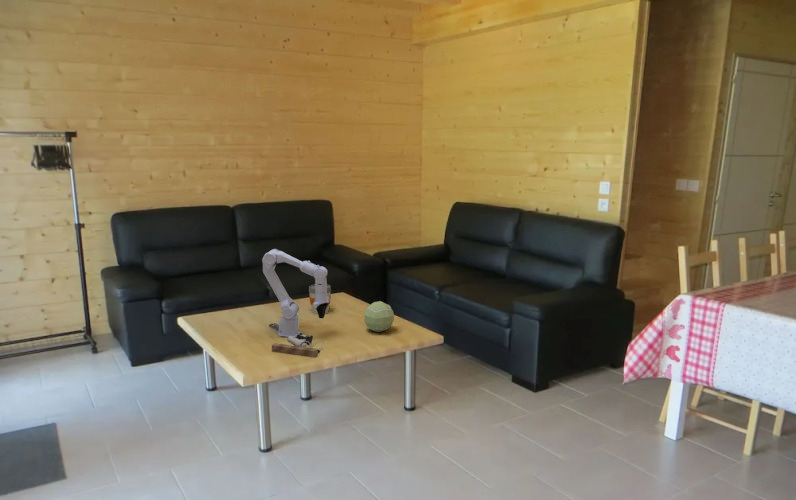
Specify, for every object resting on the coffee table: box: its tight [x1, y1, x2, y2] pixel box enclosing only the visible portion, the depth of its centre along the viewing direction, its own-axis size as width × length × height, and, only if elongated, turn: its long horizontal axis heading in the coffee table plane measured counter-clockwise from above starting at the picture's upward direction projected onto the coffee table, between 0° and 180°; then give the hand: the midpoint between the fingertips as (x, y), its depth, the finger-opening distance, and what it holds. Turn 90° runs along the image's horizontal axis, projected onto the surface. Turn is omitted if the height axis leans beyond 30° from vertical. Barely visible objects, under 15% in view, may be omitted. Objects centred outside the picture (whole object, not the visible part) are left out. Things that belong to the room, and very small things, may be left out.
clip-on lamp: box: [286, 332, 324, 352], centre depth 271 cm, size 12×6×18 cm
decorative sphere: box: [363, 300, 395, 333], centre depth 295 cm, size 15×15×15 cm
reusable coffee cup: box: [308, 283, 332, 315], centre depth 326 cm, size 13×12×15 cm
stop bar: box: [271, 342, 319, 358], centre depth 264 cm, size 22×3×3 cm, turn 71°
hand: (321, 317), depth 286 cm, fingers closed
